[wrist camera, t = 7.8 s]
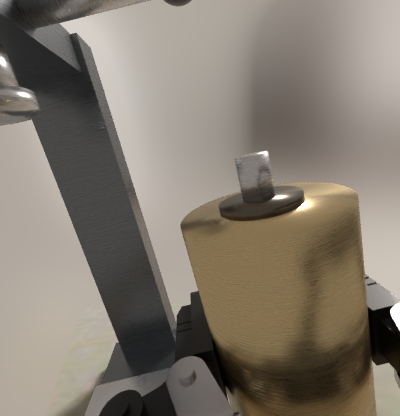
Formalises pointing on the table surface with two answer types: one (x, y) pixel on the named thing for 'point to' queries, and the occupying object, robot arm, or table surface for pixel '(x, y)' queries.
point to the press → (90, 180)
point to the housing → (285, 294)
